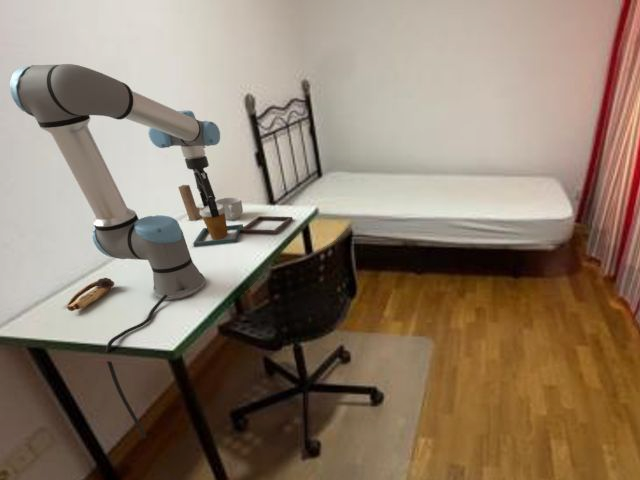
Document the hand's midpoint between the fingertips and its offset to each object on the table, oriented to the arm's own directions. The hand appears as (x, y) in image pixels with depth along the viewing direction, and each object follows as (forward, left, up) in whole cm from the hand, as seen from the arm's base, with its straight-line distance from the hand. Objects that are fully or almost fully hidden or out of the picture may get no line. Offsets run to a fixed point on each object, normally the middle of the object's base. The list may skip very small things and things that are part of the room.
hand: (211, 212), depth 178 cm
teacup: (+20, +6, -11) cm, 24 cm away
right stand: (+12, -15, -10) cm, 22 cm away
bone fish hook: (-52, +14, -11) cm, 55 cm away
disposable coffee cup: (0, 0, -11) cm, 11 cm away
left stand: (0, 0, -10) cm, 10 cm away
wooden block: (+20, +24, -11) cm, 33 cm away
